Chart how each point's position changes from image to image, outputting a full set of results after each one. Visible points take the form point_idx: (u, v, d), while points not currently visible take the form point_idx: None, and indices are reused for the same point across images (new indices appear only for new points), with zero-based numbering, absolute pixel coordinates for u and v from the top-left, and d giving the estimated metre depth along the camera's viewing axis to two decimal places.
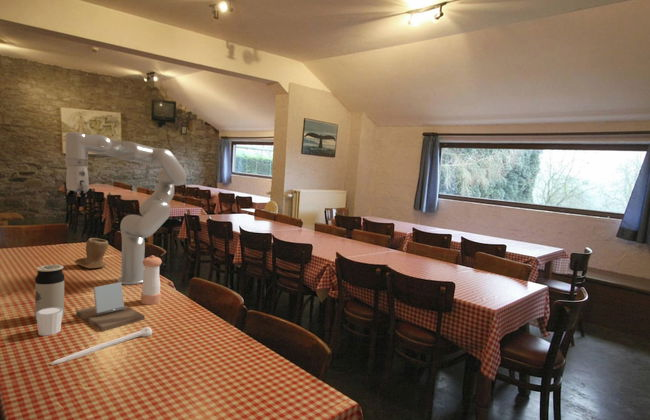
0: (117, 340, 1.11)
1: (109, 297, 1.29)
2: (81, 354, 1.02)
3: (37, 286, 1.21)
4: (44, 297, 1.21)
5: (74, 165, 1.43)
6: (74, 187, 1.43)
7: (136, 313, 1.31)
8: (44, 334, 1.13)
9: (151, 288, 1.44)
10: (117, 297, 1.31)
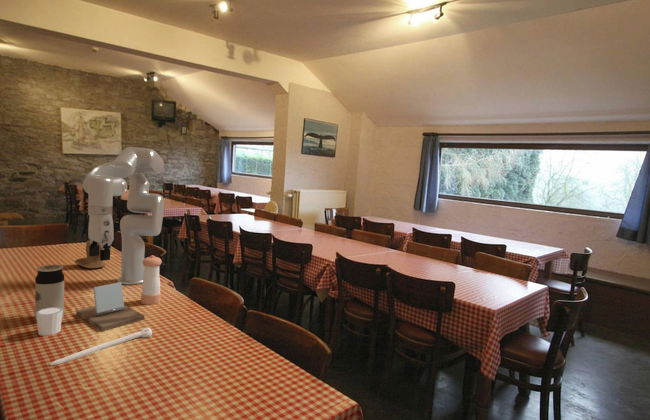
0: (117, 341, 1.11)
1: (109, 297, 1.29)
2: (80, 355, 1.02)
3: (37, 286, 1.21)
4: (44, 297, 1.21)
5: (98, 214, 1.28)
6: (98, 238, 1.28)
7: (136, 313, 1.31)
8: (44, 334, 1.13)
9: (151, 288, 1.44)
10: (117, 297, 1.31)
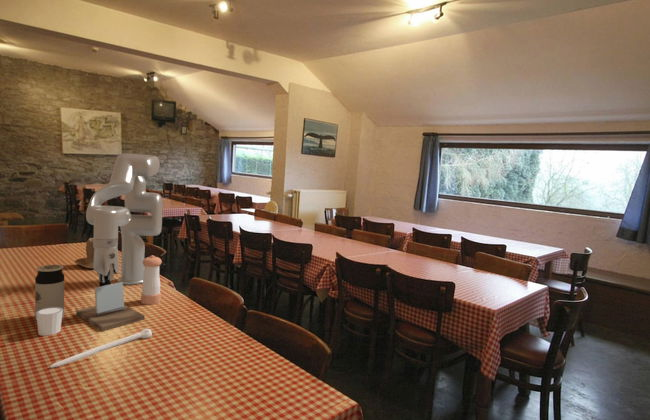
0: (117, 342, 1.10)
1: (110, 297, 1.29)
2: (80, 357, 1.01)
3: (37, 286, 1.21)
4: (44, 297, 1.21)
5: (103, 247, 1.26)
6: (103, 271, 1.27)
7: (136, 313, 1.31)
8: (44, 334, 1.13)
9: (151, 288, 1.44)
10: (118, 297, 1.31)
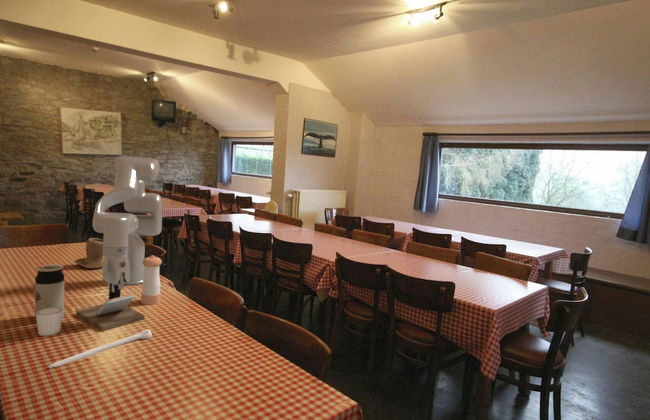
0: (116, 343, 1.09)
1: (115, 306, 1.27)
2: (79, 357, 1.01)
3: (37, 286, 1.21)
4: (44, 297, 1.21)
5: (114, 255, 1.22)
6: (113, 281, 1.23)
7: (136, 313, 1.31)
8: (44, 334, 1.13)
9: (151, 288, 1.44)
10: (123, 305, 1.29)
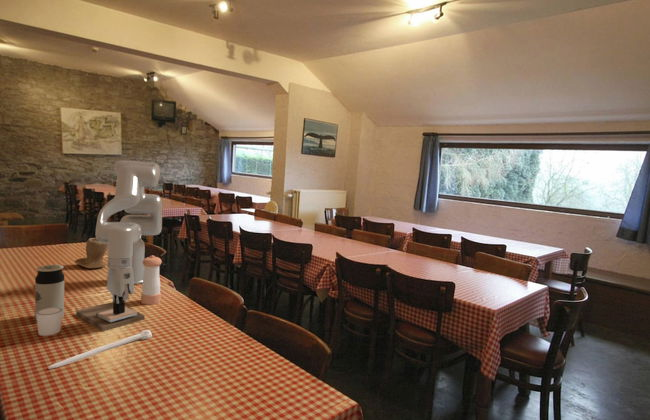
0: (116, 343, 1.09)
1: None
2: (79, 358, 1.00)
3: (37, 286, 1.21)
4: (44, 297, 1.21)
5: (118, 266, 1.21)
6: (118, 292, 1.21)
7: None
8: (44, 334, 1.13)
9: (151, 288, 1.44)
10: None
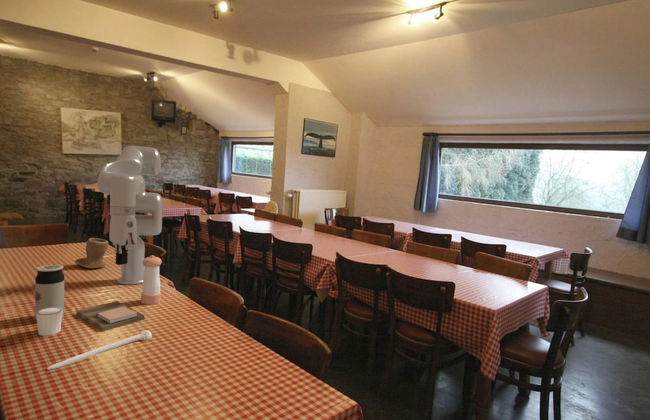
0: (115, 344, 1.09)
1: None
2: (78, 359, 1.00)
3: (37, 286, 1.21)
4: (44, 297, 1.21)
5: (121, 215, 1.19)
6: (121, 241, 1.19)
7: None
8: (44, 334, 1.13)
9: (151, 288, 1.44)
10: None
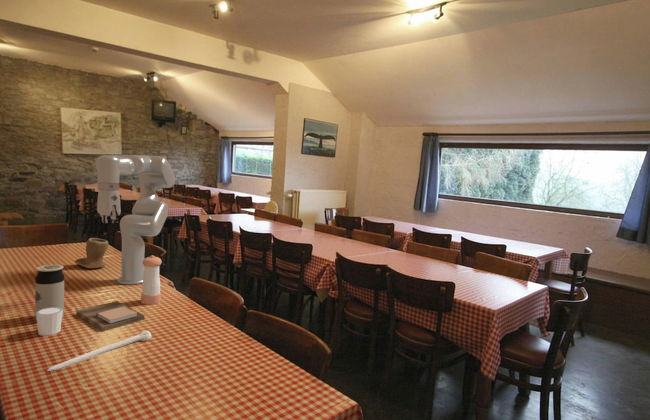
0: (115, 345, 1.08)
1: None
2: (78, 360, 0.99)
3: (37, 286, 1.21)
4: (44, 297, 1.21)
5: (106, 189, 1.40)
6: (106, 212, 1.41)
7: None
8: (44, 334, 1.13)
9: (151, 288, 1.44)
10: None
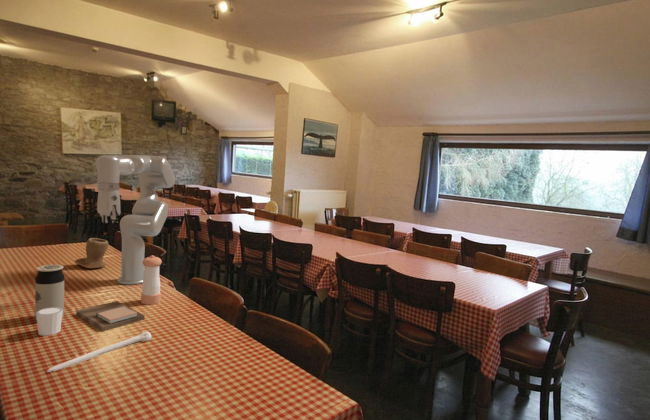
0: (115, 345, 1.08)
1: None
2: (78, 360, 0.99)
3: (37, 286, 1.21)
4: (44, 297, 1.21)
5: (106, 189, 1.41)
6: (106, 212, 1.41)
7: None
8: (44, 334, 1.13)
9: (151, 288, 1.44)
10: None
